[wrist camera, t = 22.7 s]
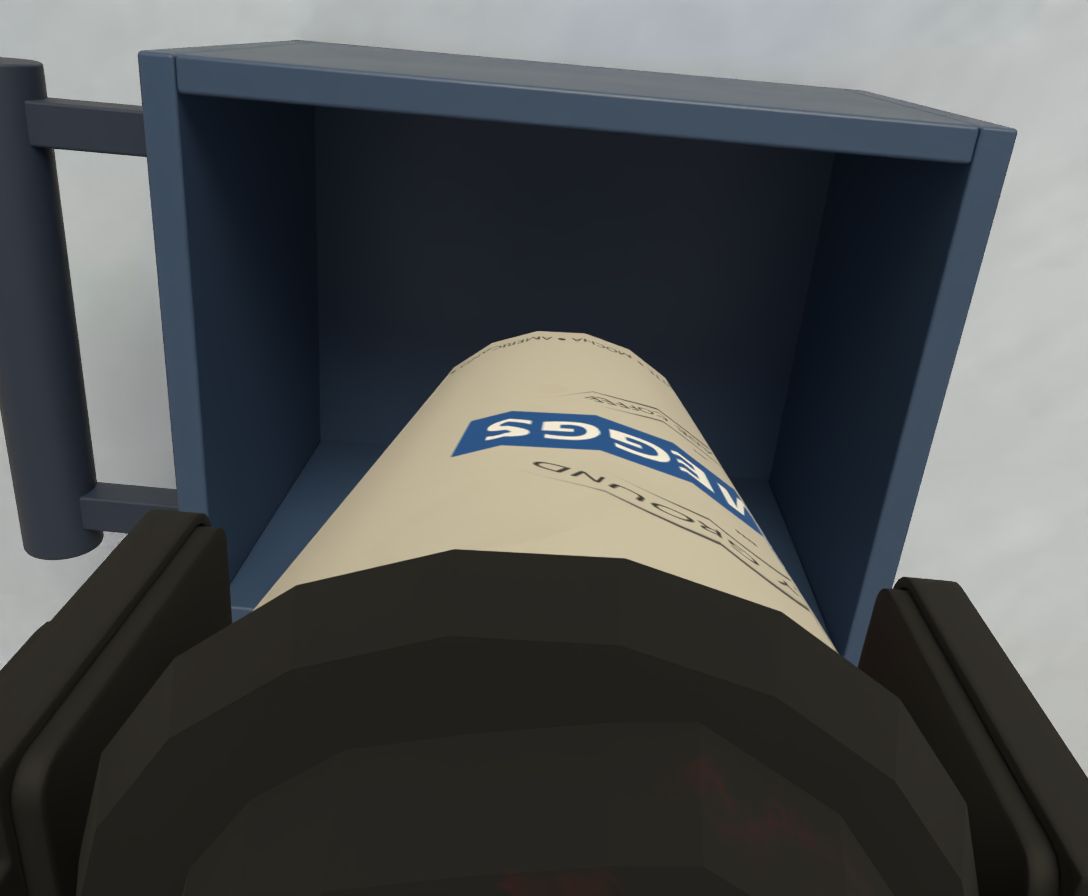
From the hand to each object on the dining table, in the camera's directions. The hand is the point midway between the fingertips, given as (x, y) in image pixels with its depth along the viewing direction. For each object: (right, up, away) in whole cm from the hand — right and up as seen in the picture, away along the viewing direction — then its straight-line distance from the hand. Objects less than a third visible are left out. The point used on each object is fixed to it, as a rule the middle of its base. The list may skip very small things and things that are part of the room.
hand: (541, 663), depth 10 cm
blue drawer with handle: (-2, +7, +15) cm, 17 cm away
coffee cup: (0, +2, +5) cm, 5 cm away
